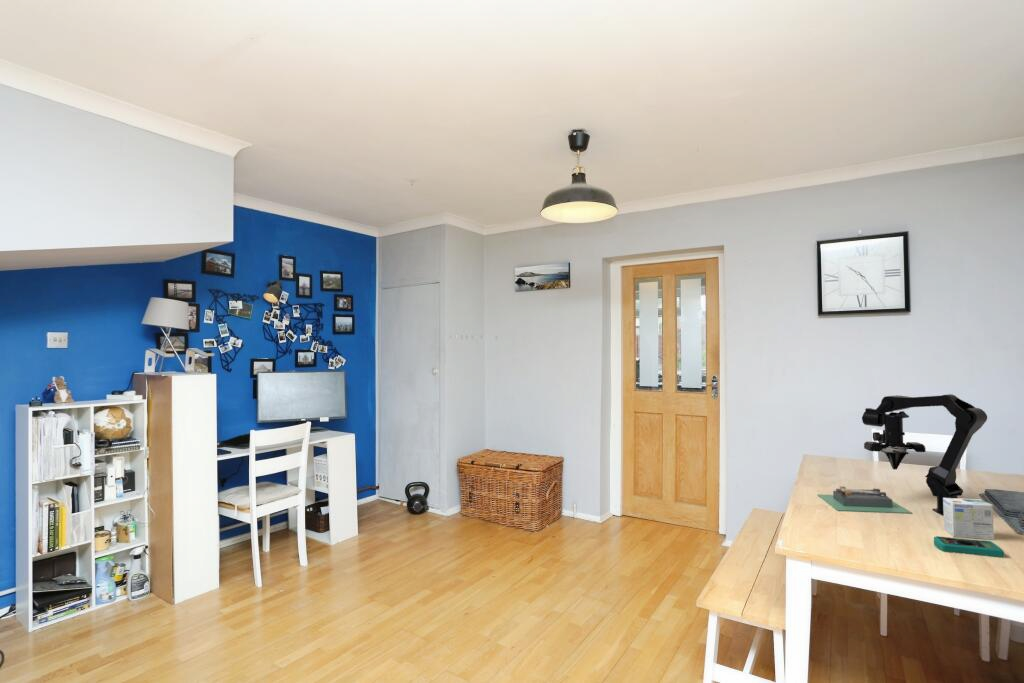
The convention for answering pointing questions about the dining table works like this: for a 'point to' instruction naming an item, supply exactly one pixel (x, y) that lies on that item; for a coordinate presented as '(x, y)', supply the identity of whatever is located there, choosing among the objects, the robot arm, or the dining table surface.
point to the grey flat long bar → (861, 492)
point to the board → (840, 507)
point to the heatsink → (862, 499)
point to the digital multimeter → (968, 546)
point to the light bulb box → (968, 518)
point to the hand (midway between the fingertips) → (894, 469)
